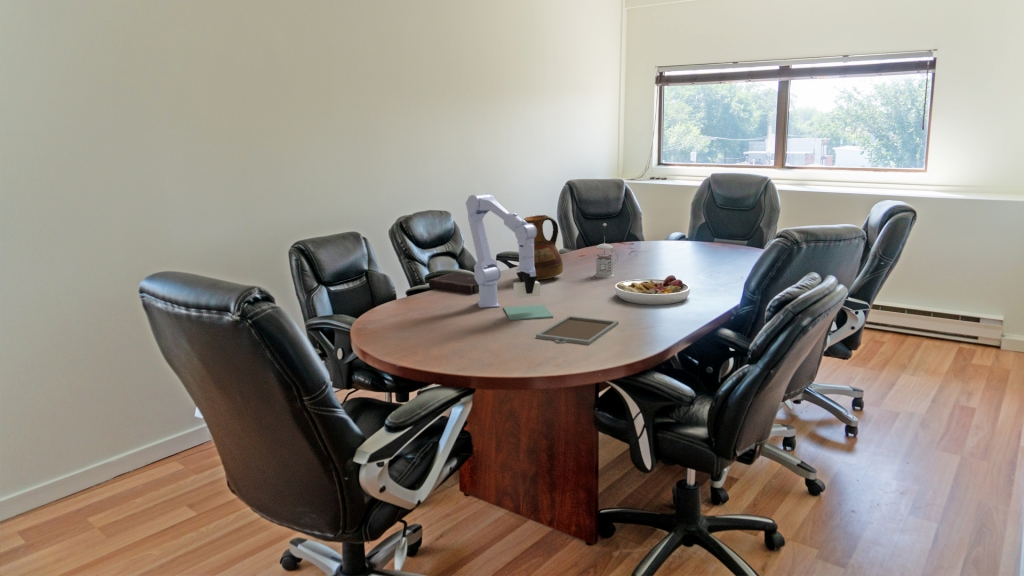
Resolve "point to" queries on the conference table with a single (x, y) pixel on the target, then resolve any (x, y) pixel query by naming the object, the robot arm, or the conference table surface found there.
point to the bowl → (653, 291)
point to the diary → (455, 283)
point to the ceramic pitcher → (545, 249)
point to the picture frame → (577, 330)
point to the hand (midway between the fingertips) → (527, 292)
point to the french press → (604, 261)
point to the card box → (521, 290)
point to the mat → (527, 312)
